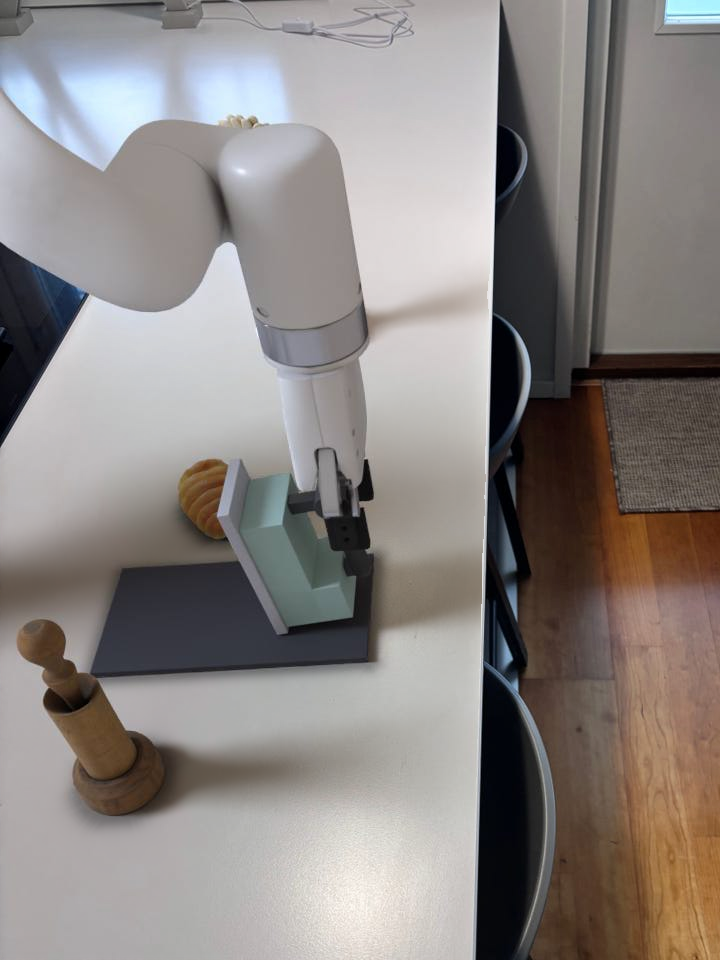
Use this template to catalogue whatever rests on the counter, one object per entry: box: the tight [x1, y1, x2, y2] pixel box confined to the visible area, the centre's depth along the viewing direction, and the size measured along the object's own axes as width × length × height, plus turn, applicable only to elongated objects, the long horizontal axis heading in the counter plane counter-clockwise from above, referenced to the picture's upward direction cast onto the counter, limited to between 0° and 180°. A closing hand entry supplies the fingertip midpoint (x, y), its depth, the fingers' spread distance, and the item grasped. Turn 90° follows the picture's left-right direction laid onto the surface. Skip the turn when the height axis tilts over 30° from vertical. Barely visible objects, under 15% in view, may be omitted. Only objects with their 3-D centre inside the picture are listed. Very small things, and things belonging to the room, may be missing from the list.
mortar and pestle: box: [15, 618, 165, 816], centre depth 71 cm, size 7×6×18 cm
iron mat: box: [89, 552, 375, 678], centre depth 89 cm, size 24×13×1 cm, turn 92°
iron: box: [217, 458, 372, 635], centre depth 83 cm, size 14×7×10 cm
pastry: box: [177, 458, 229, 540], centre depth 97 cm, size 9×7×4 cm
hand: (353, 521), depth 81 cm, fingers open, 5 cm apart
